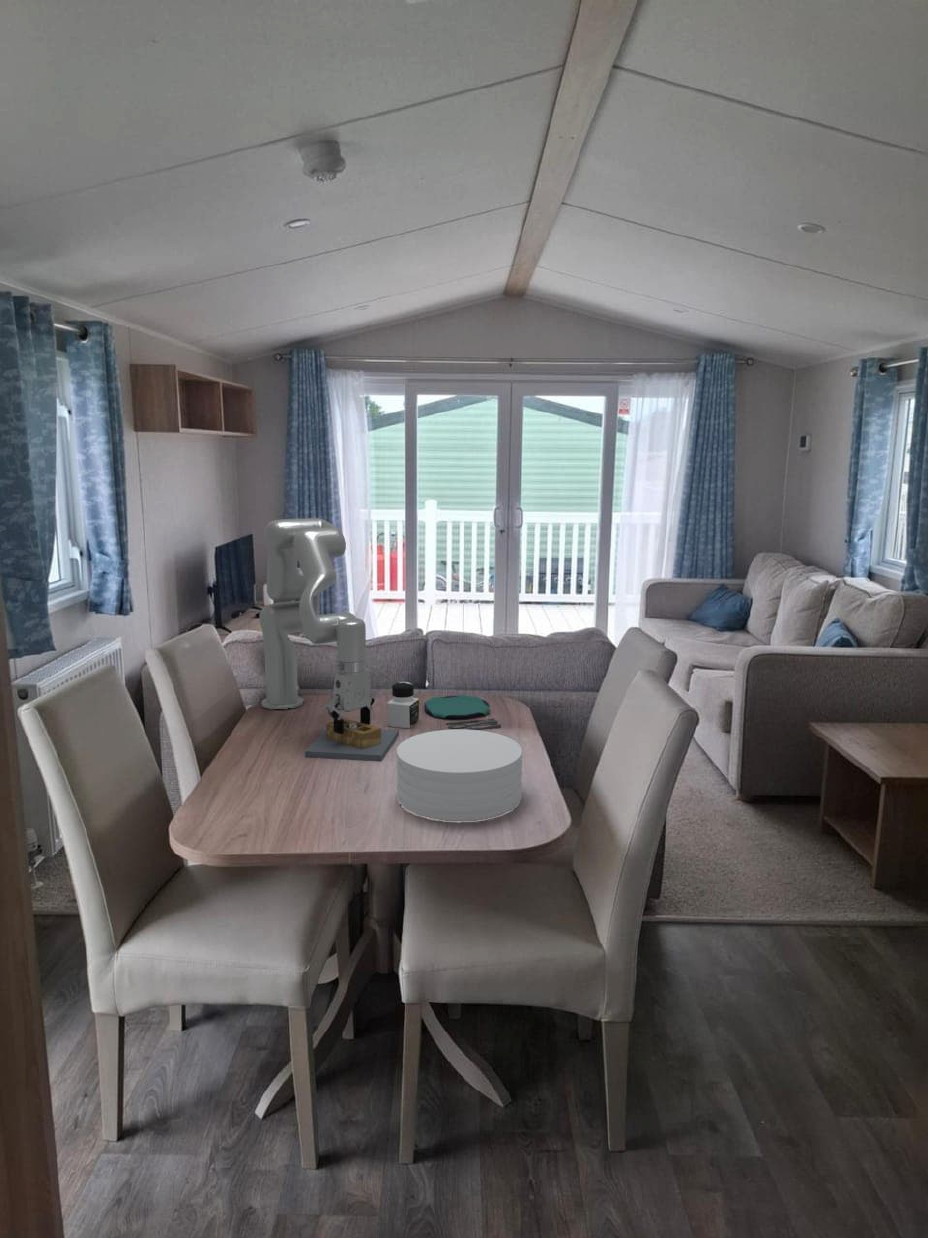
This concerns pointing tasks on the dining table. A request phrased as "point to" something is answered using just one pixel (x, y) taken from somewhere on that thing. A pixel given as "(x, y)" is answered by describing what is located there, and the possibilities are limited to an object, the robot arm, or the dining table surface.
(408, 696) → the medicine bottle
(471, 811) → the plate stack
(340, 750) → the slate board
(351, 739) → the tan slatted rectangular block
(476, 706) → the cutlery set
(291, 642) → the robot arm
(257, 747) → the dining table surface
